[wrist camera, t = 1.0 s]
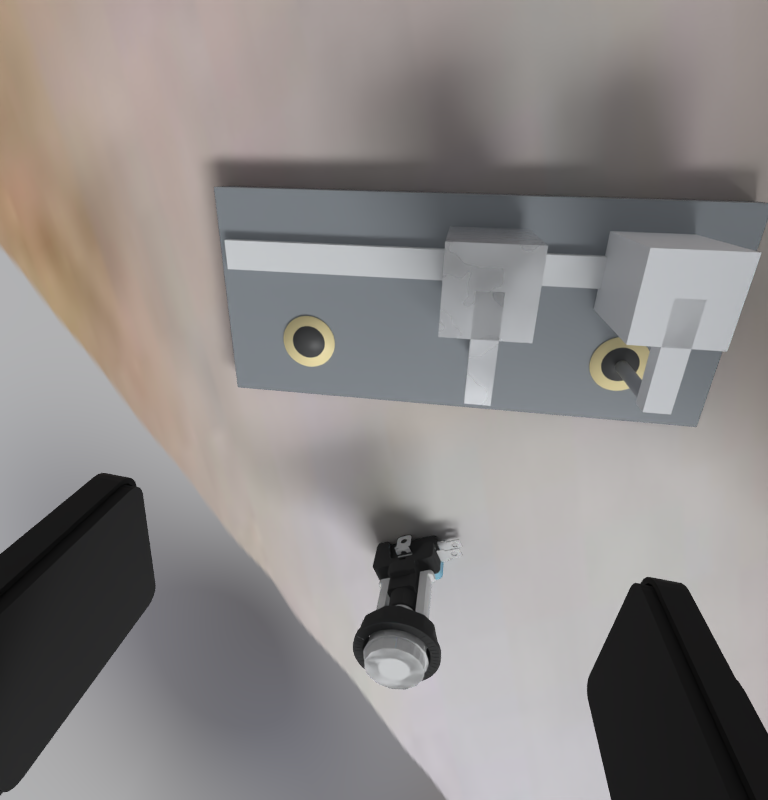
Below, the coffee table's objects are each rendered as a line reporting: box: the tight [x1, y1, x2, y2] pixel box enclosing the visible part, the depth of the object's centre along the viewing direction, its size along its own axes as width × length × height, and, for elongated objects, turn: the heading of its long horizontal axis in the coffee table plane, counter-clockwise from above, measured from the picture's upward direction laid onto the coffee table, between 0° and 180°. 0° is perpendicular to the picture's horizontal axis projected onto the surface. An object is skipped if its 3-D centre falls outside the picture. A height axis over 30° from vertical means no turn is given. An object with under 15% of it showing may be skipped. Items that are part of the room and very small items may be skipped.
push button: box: [353, 535, 462, 689], centre depth 32 cm, size 7×5×10 cm
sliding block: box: [438, 226, 548, 406], centre depth 23 cm, size 4×7×6 cm, turn 179°
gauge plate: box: [214, 186, 768, 427], centre depth 25 cm, size 28×12×8 cm, turn 89°
